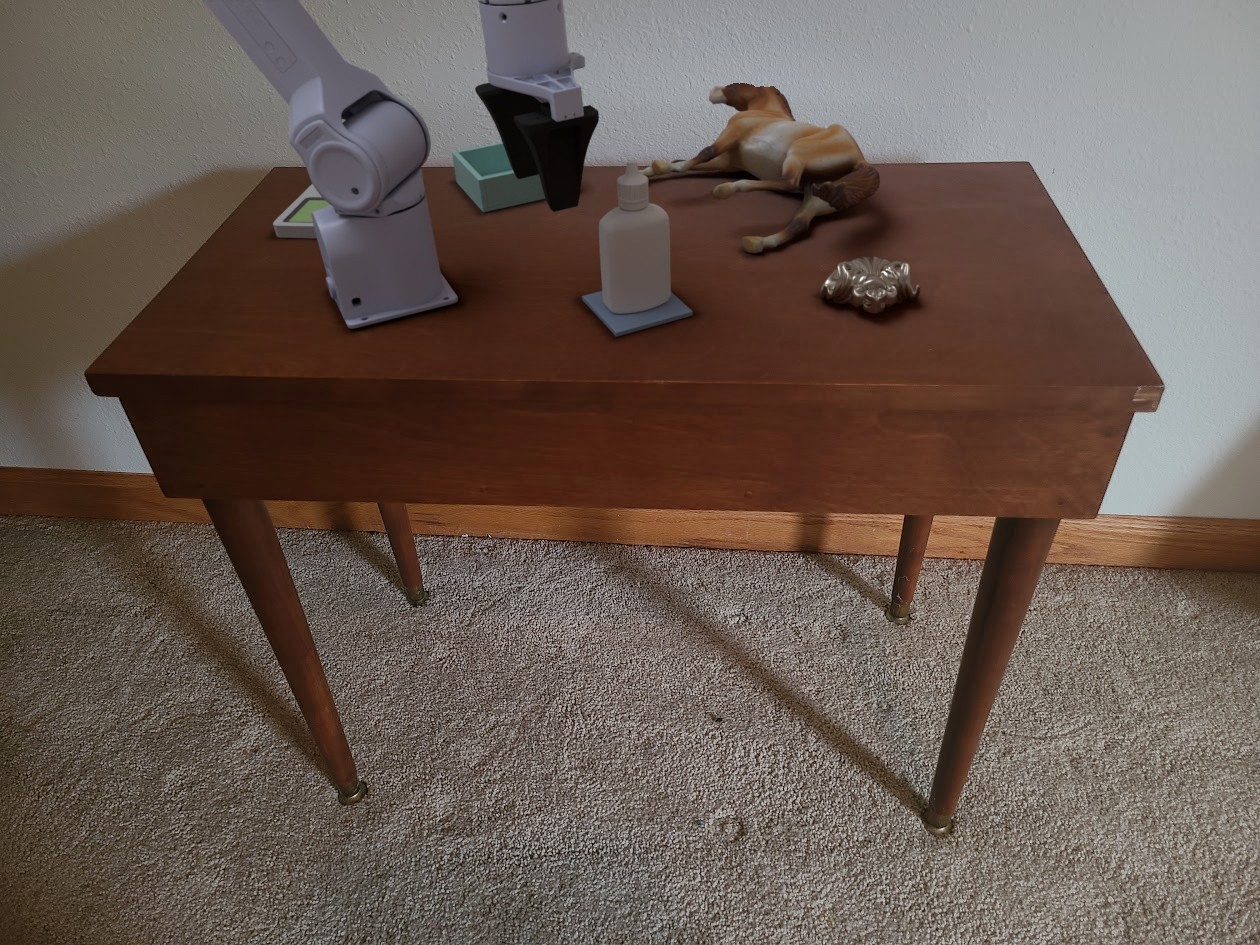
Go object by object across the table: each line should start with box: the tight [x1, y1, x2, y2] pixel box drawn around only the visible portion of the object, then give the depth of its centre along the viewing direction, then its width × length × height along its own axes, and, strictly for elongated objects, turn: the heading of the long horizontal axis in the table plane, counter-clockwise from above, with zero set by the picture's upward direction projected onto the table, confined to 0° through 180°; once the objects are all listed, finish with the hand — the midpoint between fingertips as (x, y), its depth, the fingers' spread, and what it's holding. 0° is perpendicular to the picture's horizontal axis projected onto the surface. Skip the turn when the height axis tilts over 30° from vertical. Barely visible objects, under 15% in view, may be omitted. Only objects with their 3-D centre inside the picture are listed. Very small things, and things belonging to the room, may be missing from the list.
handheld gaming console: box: [272, 183, 330, 239], centre depth 94 cm, size 10×2×15 cm
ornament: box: [818, 256, 921, 314], centre depth 74 cm, size 8×7×4 cm
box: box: [451, 141, 546, 213], centre depth 96 cm, size 10×9×3 cm
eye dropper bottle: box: [598, 159, 672, 314], centre depth 72 cm, size 4×6×12 cm
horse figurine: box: [638, 83, 881, 254], centre depth 90 cm, size 31×8×21 cm
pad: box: [581, 290, 694, 338], centre depth 76 cm, size 7×7×1 cm
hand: (545, 190), depth 70 cm, fingers open, 7 cm apart
